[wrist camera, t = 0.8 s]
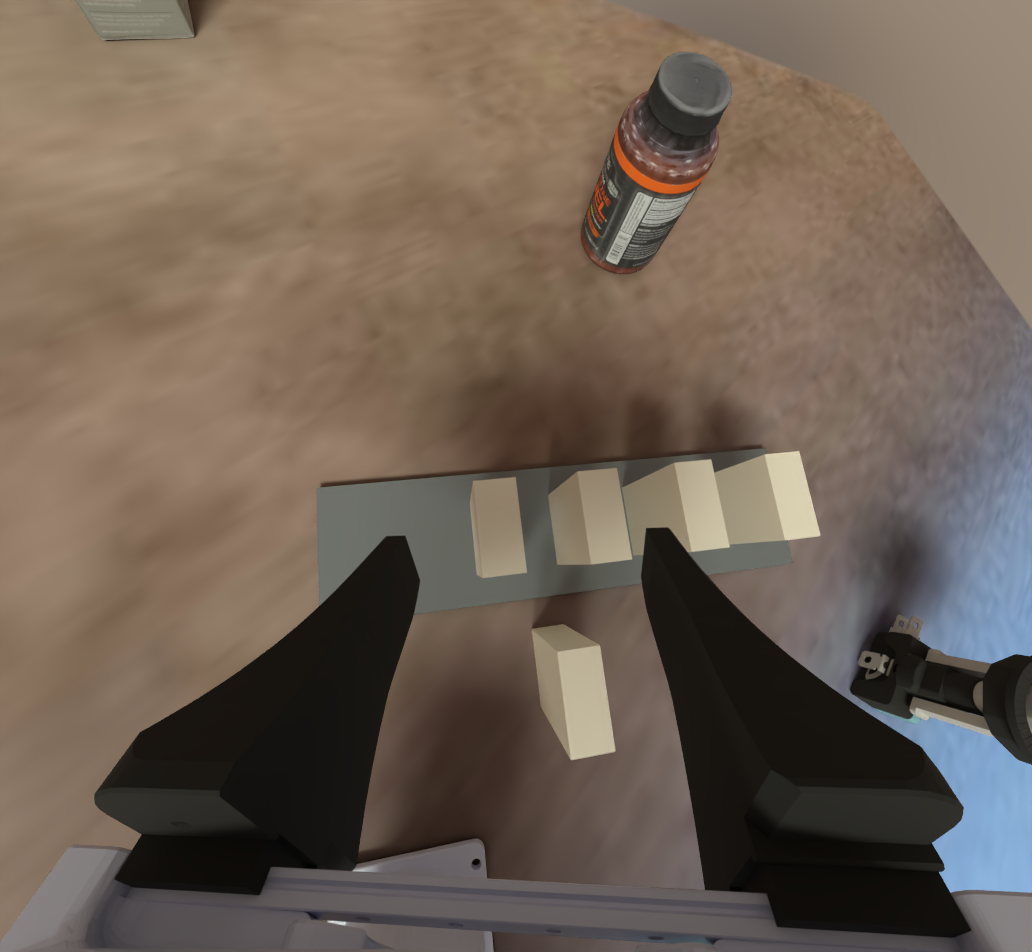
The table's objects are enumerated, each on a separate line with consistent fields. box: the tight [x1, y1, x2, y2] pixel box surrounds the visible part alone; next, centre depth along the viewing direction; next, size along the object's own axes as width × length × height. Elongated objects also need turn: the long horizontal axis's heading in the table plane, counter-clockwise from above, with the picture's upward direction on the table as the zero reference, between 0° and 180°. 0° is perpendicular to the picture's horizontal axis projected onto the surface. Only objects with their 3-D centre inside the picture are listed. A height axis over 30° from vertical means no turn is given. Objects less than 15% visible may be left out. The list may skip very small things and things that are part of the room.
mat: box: [316, 448, 793, 614], centre depth 27 cm, size 8×30×1 cm, turn 97°
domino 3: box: [532, 624, 615, 760], centre depth 22 cm, size 4×2×7 cm, turn 7°
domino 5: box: [714, 451, 820, 545], centre depth 25 cm, size 4×2×7 cm, turn 7°
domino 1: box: [470, 477, 527, 578], centre depth 23 cm, size 4×2×7 cm, turn 7°
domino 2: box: [548, 468, 632, 565], centre depth 23 cm, size 4×2×7 cm, turn 7°
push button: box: [851, 614, 1032, 765], centre depth 23 cm, size 7×5×10 cm
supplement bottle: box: [581, 52, 732, 274], centre depth 27 cm, size 6×6×11 cm
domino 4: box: [622, 459, 730, 555], centre depth 24 cm, size 4×2×7 cm, turn 7°
